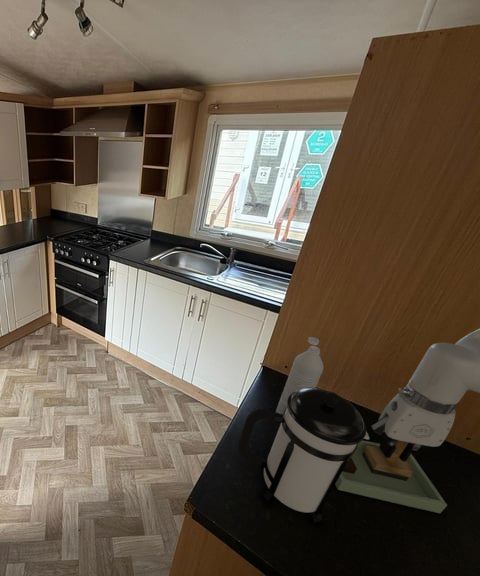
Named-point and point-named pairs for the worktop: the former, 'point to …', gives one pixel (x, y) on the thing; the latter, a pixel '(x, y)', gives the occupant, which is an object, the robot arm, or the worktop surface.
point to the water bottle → (302, 373)
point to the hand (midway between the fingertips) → (392, 453)
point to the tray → (391, 484)
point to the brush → (388, 462)
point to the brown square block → (350, 467)
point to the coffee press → (307, 448)
